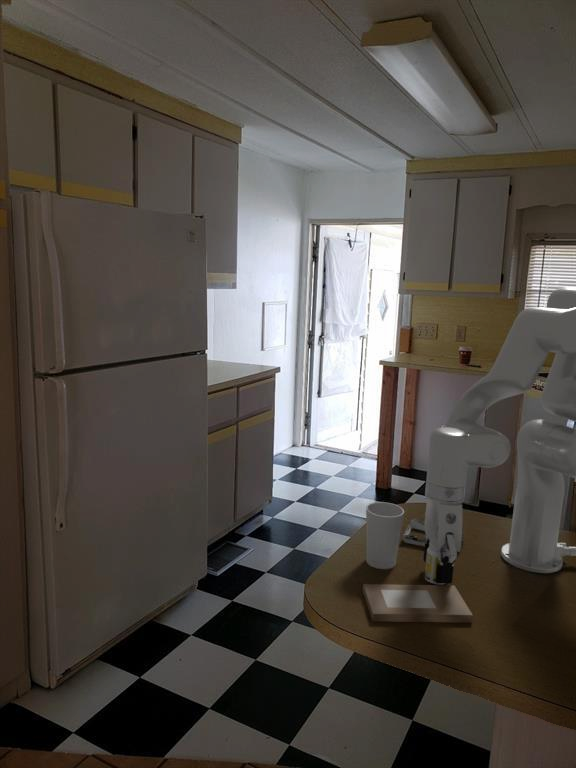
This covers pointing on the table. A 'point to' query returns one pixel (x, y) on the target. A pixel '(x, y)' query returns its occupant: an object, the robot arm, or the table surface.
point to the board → (416, 603)
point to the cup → (383, 534)
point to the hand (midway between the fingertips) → (437, 571)
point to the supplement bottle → (432, 563)
